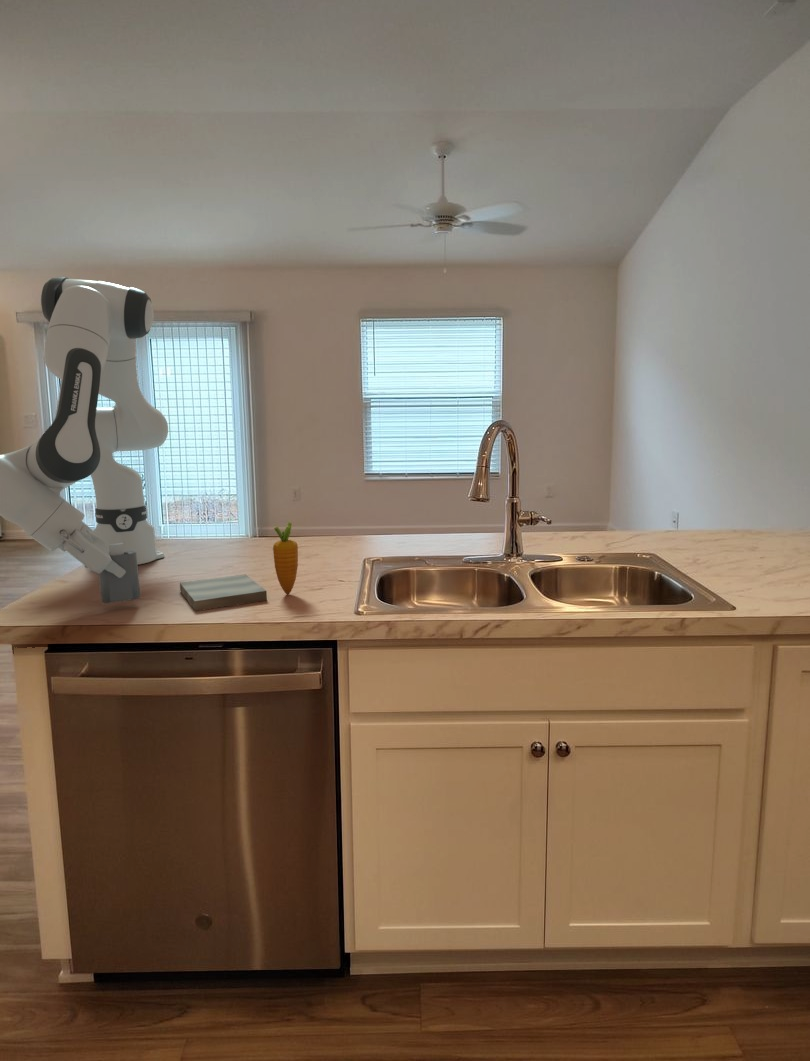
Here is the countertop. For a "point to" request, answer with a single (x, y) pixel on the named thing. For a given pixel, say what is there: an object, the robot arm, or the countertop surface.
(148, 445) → the robot arm
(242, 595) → the striped sage slab
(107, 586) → the block
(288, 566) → the carrot
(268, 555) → the countertop surface
